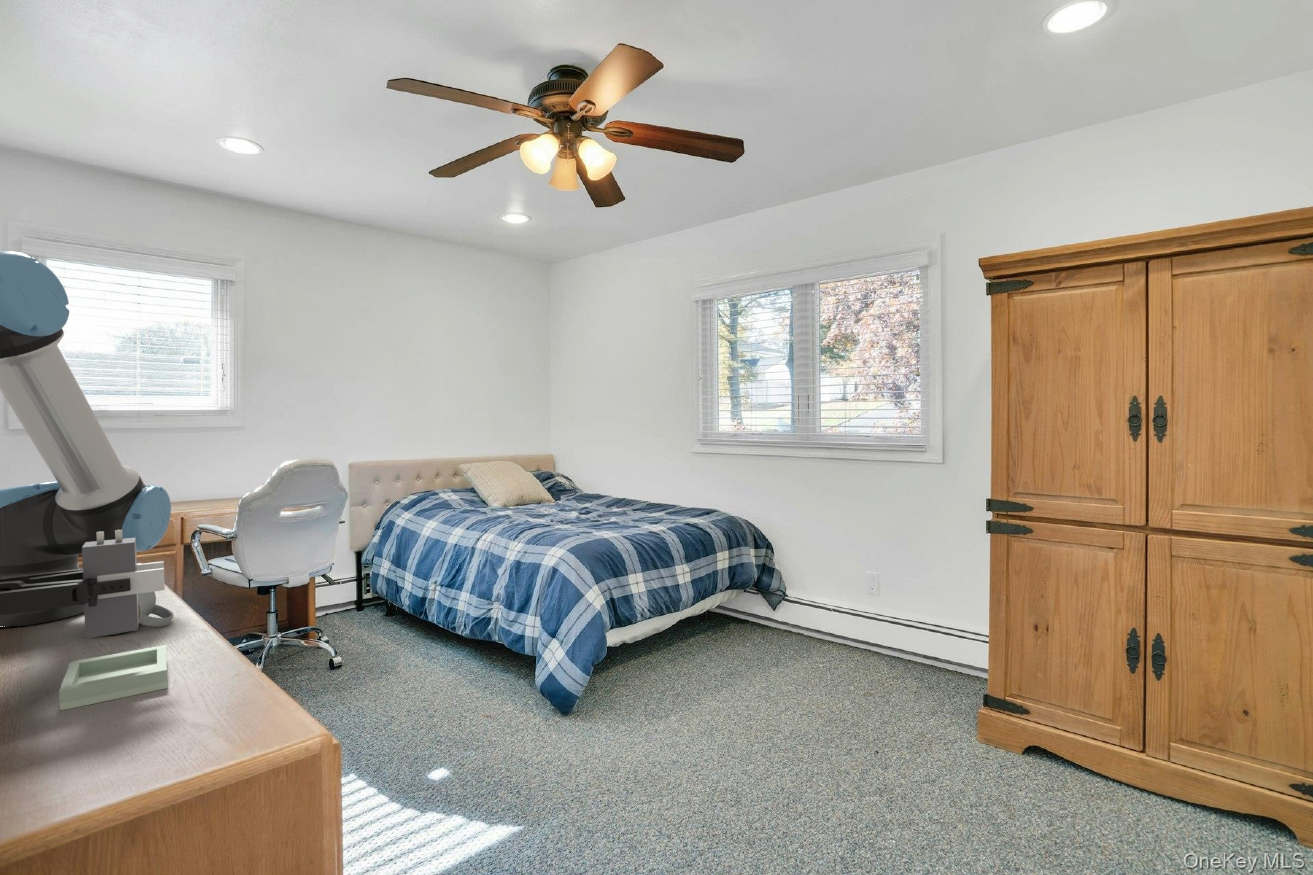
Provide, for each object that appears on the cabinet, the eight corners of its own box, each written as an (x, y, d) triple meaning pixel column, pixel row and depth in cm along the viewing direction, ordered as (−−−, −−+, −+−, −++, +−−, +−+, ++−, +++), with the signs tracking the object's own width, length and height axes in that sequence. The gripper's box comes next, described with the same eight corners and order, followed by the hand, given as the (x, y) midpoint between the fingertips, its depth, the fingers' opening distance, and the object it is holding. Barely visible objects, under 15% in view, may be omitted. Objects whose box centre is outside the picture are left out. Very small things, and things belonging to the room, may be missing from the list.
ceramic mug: (82, 640, 102) (81, 591, 102) (100, 626, 110) (99, 579, 110) (166, 631, 107) (165, 583, 107) (178, 618, 114) (177, 573, 114)
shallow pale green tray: (71, 679, 86) (70, 661, 86) (166, 661, 92) (166, 644, 92) (60, 710, 77) (59, 690, 77) (167, 688, 83) (166, 669, 83)
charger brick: (88, 628, 84) (85, 531, 84) (138, 621, 87) (135, 526, 87) (85, 638, 80) (81, 535, 80) (137, 629, 83) (134, 531, 83)
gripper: (-75, 623, 80) (164, 590, 94) (-126, 664, 66) (165, 618, 80) (-78, 561, 80) (162, 538, 94) (-130, 588, 66) (163, 556, 80)
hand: (163, 575), depth 87 cm, fingers closed on charger brick, 5 cm apart
